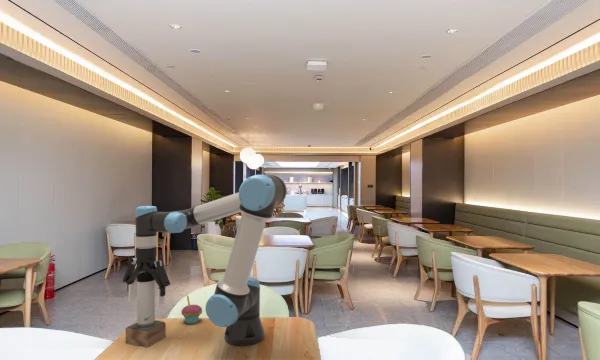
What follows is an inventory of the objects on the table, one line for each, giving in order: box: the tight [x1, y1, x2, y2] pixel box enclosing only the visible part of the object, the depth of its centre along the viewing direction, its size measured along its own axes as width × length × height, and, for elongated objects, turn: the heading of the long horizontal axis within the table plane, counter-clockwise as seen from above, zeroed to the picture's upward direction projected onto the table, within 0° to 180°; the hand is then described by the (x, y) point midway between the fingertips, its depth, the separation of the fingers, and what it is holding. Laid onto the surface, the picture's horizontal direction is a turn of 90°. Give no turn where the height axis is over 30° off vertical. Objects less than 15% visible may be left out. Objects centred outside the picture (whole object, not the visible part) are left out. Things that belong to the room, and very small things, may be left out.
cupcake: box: [181, 294, 203, 325], centre depth 166 cm, size 9×8×12 cm
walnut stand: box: [125, 319, 167, 348], centre depth 147 cm, size 10×10×6 cm
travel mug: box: [136, 271, 156, 327], centre depth 147 cm, size 6×7×20 cm
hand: (146, 302), depth 147 cm, fingers open, 13 cm apart
